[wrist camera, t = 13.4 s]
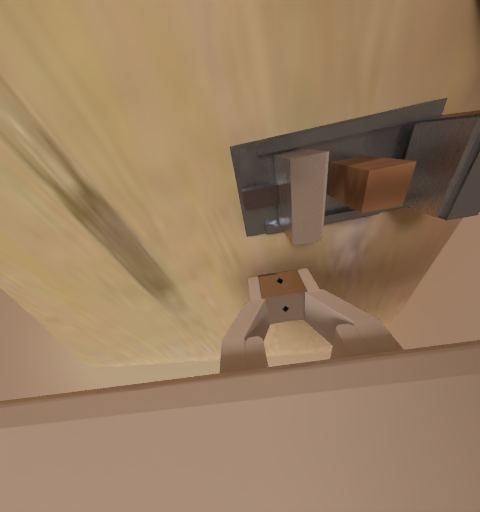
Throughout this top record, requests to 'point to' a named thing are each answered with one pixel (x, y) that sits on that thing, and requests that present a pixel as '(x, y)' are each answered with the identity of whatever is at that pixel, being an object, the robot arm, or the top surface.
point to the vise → (386, 146)
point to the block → (370, 182)
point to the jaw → (295, 194)
